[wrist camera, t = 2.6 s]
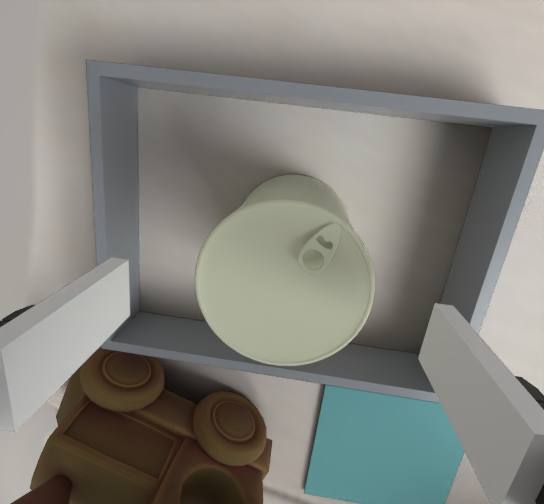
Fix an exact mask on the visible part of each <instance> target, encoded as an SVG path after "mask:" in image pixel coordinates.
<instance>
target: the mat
mask: <svg viewBox="0 0 544 504" xmlns="http://www.w3.org/2000/svg"><path fill="white" fill-rule="evenodd" d="M464 452H465V451H464V449H463V447H462V445H461V443H460V441H459V439H458V437H457V435H456V433H455V431H454V429H453V427H452V425H451V423H450V421H449V419H448V417H447V415H446V413H445V411H444V409H443V407H442V405H441V403H438V402H432V401H425V400H419V399H413V398H407V397H401V396H394V395H388V394H382V393H376V392H370V391H363V390H357V389H351V388H345V387H339V386H332V385H326V384H325V388H324V393H323V398H322V403H321V408H320V413H319V419H318V424H317V429H316V434H315V439H314V444H313V449H312V454H311V459H310V464H309V469H308V474H307V479H306V484H305V489H304V494H310V495H316V496H321V497H327V498H332V499H338V500H343V501H349V502H354V503H360V504H445V501H446V499H447V496H448V493H449V491H450V488H451V486H452V483H453V480H454V478H455V475H456V473H457V470H458V467H459V465H460V462H461V460H462V457H463V454H464Z"/></svg>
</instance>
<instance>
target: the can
mask: <svg viewBox="0 0 544 504" xmlns="http://www.w3.org/2000/svg"><path fill="white" fill-rule="evenodd" d="M195 292H196V297H197V301H198V304H199V307H200V309H201V312H202V314H203V316H204V318H205V320H206V321H207V323H208V325H209V326H210V328H211V329H212V330H213V332H214V333H215V334H216V335H217V336H218V337H219V338H220V339H221V340H222V341H223V342H224V343H225V344H227V345H228V346H229V347H231V348H232V349H234V350H235V351H237V352H238V353H240V354H242V355H244V356H246V357H248V358H251V359H253V360H256V361H259V362H262V363H266V364H271V365H278V366H297V365H304V364H309V363H313V362H317V361H320V360H322V359H324V358H327V357H329V356H331V355H333V354H335V353H336V352H338V351H339V350H341V349H342V348H344V347H345V346H346V345H347V344H348V343H349V342H351V341H352V340H353V339H354V337H355V336H356V335H357V334H358V333H359V332H360V330H361V329H362V327H363V326H364V324H365V322H366V320H367V318H368V316H369V314H370V311H371V308H372V304H373V300H374V294H375V276H374V270H373V265H372V262H371V259H370V256H369V254H368V251H367V250H366V248H365V246H364V244H363V242H362V241H361V239H360V238H359V236H358V235H357V234H356V233H355V231H354V229H353V228H352V226H351V224H350V222H349V217H348V214H347V211H346V208H345V206H344V204H343V202H342V201H341V199H340V198H339V197H338V195H337V194H336V193H335V192H334V191H333V190H332V189H331V188H330V187H328V186H327V185H325V184H324V183H322V182H321V181H318V180H316V179H314V178H311V177H308V176H303V175H295V174H292V175H282V176H278V177H274V178H272V179H269V180H267V181H265V182H263V183H262V184H260V185H259V186H257V187H256V188H255V189H254V190H253V191H252V192H251V193H250V194H249V195H248V197H247V198H246V199H245V201H244V202H243V204H242V205H241V206H240V207H239V208H238V209H237V210H236V211H235V212H233V213H231V214H230V215H229V216H227V217H226V218H224V219H223V220H222V221H221V222H220V223H219V224H218V225H217V226H216V227H215V228H214V229H213V230H212V232H211V233H210V234H209V236H208V237H207V239H206V240H205V242H204V244H203V246H202V248H201V250H200V253H199V256H198V259H197V263H196V269H195Z"/></svg>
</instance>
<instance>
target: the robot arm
mask: <svg viewBox="0 0 544 504" xmlns="http://www.w3.org/2000/svg"><path fill="white" fill-rule="evenodd" d="M129 316H130V293H129V260H126V259H119V258H112V257H111V258H110V259H108V260H107V261H105V262H103V263H102V264H100V265H99V266H97V267H96V268H94V269H92V270H91V271H89V272H88V273H86V274H84V275H83V276H81V277H80V278H78V279H76V280H75V281H73V282H72V283H70V284H68V285H67V286H65V287H64V288H62V289H61V290H59V291H57V292H56V293H54V294H53V295H51V296H49V297H48V298H46V299H45V300H43V301H41V302H40V303H38V304H37V305H31V306H28V307H25V308H23V309H20V310H17V311H15V312H13V313H12V314H10V315H8V316H7V317H5V318H3V319H2V321H0V430H4V431H9V432H15V433H16V432H17V431H18V430H19V429H20V428H21V427H22V426H23V425H24V424H25V423H26V422H27V421H28V420H29V419H30V417H31V416H32V415H33V414H34V413H35V412H36V411H37V410H38V409H39V408H40V407H41V406H42V405H43V404H44V403H45V402H46V401H47V400H48V399H49V398H50V397H51V396H52V395H53V394H54V393H55V392H56V391H57V390H58V389H59V388H60V387H61V386H62V385H63V384H64V383H65V382H66V381H67V380H68V379H69V378H70V377H71V376H72V375H73V373H74V372H75V371H76V370H77V369H78V368H79V367H80V366H81V365H82V364H83V363H84V362H85V361H86V360H87V359H88V358H89V357H90V356H91V355H92V354H93V353H94V352H95V351H96V350H97V349H98V348H99V347H100V346H101V345H102V344H103V343H104V342H105V341H106V340H107V339H108V338H109V337H110V336H111V335H112V334H113V332H114V331H115V330H116V329H117V328H118V327H119V326H120V325H121V324H122V323H123V322H124V321H125V320H126V319H127V318H128V317H129ZM418 359H419V361H420V363H421V365H422V367H423V369H424V371H425V373H426V375H427V377H428V379H429V381H430V383H431V385H432V387H433V389H434V391H435V393H436V395H437V397H438V399H439V401H440V403H441V405H442V407H443V409H444V411H445V413H446V415H447V417H448V419H449V421H450V423H451V425H452V427H453V429H454V431H455V433H456V435H457V437H458V439H459V441H460V443H461V445H462V447H463V449H464V451H465V453H466V455H467V457H468V459H469V461H470V463H471V465H472V467H473V469H474V471H475V473H476V475H477V477H478V479H479V481H480V483H481V485H482V487H483V489H484V491H485V493H486V495H487V497H488V499H489V501H490V503H491V504H544V395H543V394H542V393H541V392H540V391H539V390H538V389H537V388H536V387H534V386H533V385H532V384H530V383H529V382H527V381H526V380H525V379H523V378H522V377H517V376H514V375H513V374H512V373H511V371H510V370H509V369H508V368H507V367H506V366H505V365H504V363H503V362H502V361H501V360H500V359H499V358H498V356H497V355H496V354H495V353H494V352H493V351H492V350H491V348H490V347H489V346H488V345H487V344H486V343H485V341H484V340H483V339H482V338H481V337H480V336H479V335H478V333H477V332H476V331H475V330H474V329H473V328H472V326H471V325H470V324H469V323H468V322H467V321H466V320H465V318H464V317H463V316H462V315H461V314H460V313H459V311H458V310H457V309H456V308H455V307H454V306H452V305H445V304H438V303H435V304H434V307H433V311H432V314H431V317H430V321H429V324H428V327H427V331H426V334H425V337H424V341H423V344H422V347H421V351H420V354H419V357H418Z"/></svg>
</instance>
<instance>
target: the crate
mask: <svg viewBox="0 0 544 504" xmlns="http://www.w3.org/2000/svg"><path fill="white" fill-rule="evenodd" d="M86 75H87V93H88V112H89V130H90V149H91V167H92V186H93V205H94V223H95V242H96V260H97V266H99V265H100V264H102V263H103V262H105V261H107V260H108V259H110V258H111V257H112V258H119V259H126V260H129V293H130V316H129V317H128V318H127V319H126V320H125V321H124V322H123V323H122V324H121V325H120V326H119V327H118V328H117V329H116V330H115V331H114V332H113V334H112V335H111V336H110V337H109V338H108V339H107V340H106V341H105V342H104V343H103V344H102V345H101V348H103V349H109V350H115V351H121V352H128V353H134V354H140V355H146V356H152V357H159V358H165V359H171V360H177V361H183V362H190V363H196V364H202V365H208V366H214V367H221V368H227V369H233V370H239V371H245V372H252V373H258V374H264V375H270V376H276V377H283V378H289V379H295V380H301V381H308V382H314V383H320V384H326V385H332V386H339V387H345V388H351V389H357V390H363V391H370V392H376V393H382V394H388V395H394V396H401V397H407V398H413V399H419V400H425V401H432V402H438V403H440V401H439V399H438V397H437V395H436V393H435V391H434V389H433V387H432V385H431V383H430V381H429V379H428V377H427V375H426V373H425V371H424V369H423V367H422V365H421V363H420V361H419V359H418V357H419V354H415V353H408V352H402V351H395V350H389V349H382V348H376V347H369V346H363V345H356V344H349V343H348V344H347V345H346V346H345V347H344V348H342V349H341V350H339V351H338V352H336V353H335V354H333V355H331V356H329V357H327V358H324V359H322V360H320V361H317V362H313V363H309V364H304V365H297V366H278V365H271V364H266V363H262V362H259V361H256V360H253V359H251V358H248V357H246V356H244V355H242V354H240V353H238V352H237V351H235V350H234V349H232V348H231V347H229V346H228V345H227V344H225V343H224V342H223V341H222V340H221V339H220V338H219V337H218V336H217V335H216V334H215V333H214V332H213V330H212V329H211V328H210V326H209V325H208V323H207V322H206V321H200V320H193V319H187V318H180V317H174V316H167V315H161V314H154V313H147V312H141V311H140V287H139V200H138V113H137V87H140V88H149V89H158V90H167V91H175V92H184V93H193V94H202V95H211V96H219V97H228V98H237V99H246V100H255V101H263V102H272V103H281V104H290V105H298V106H307V107H316V108H325V109H334V110H342V111H351V112H360V113H369V114H377V115H386V116H395V117H404V118H413V119H421V120H430V121H439V122H448V123H456V124H465V125H474V126H483V127H492V131H491V135H490V138H489V141H488V145H487V148H486V151H485V155H484V158H483V161H482V165H481V168H480V171H479V175H478V178H477V181H476V185H475V188H474V191H473V195H472V198H471V201H470V205H469V208H468V211H467V215H466V218H465V221H464V225H463V228H462V231H461V235H460V238H459V241H458V245H457V248H456V251H455V255H454V258H453V261H452V265H451V268H450V271H449V275H448V278H447V281H446V285H445V288H444V291H443V295H442V298H441V301H440V304H445V305H452V306H454V307H455V308H456V309H457V310H458V311H459V313H460V314H461V315H462V316H463V317H464V318H465V320H466V321H467V322H468V323H469V324H470V325H471V326H472V328H473V329H474V330H475V331H476V332H477V333H478V334H479V332H480V329H481V326H482V323H483V320H484V317H485V315H486V312H487V309H488V306H489V303H490V300H491V297H492V295H493V292H494V289H495V286H496V283H497V280H498V278H499V275H500V272H501V269H502V266H503V263H504V261H505V258H506V255H507V252H508V249H509V246H510V243H511V241H512V238H513V235H514V232H515V229H516V226H517V224H518V221H519V218H520V215H521V212H522V209H523V206H524V204H525V201H526V198H527V195H528V192H529V189H530V187H531V184H532V181H533V178H534V175H535V172H536V169H537V167H538V164H539V161H540V158H541V155H542V152H543V150H544V110H540V109H531V108H522V107H513V106H504V105H495V104H486V103H477V102H468V101H458V100H449V99H440V98H431V97H422V96H413V95H404V94H395V93H386V92H377V91H368V90H358V89H349V88H340V87H331V86H322V85H313V84H304V83H295V82H286V81H277V80H268V79H258V78H249V77H240V76H231V75H222V74H213V73H204V72H195V71H186V70H177V69H168V68H158V67H149V66H140V65H131V64H122V63H113V62H104V61H95V60H86Z"/></svg>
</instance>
